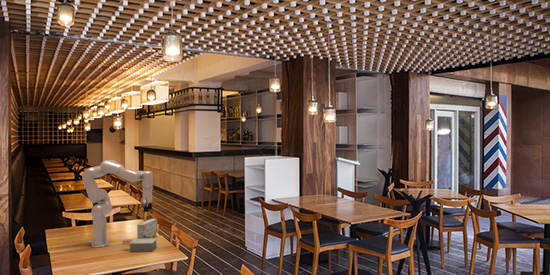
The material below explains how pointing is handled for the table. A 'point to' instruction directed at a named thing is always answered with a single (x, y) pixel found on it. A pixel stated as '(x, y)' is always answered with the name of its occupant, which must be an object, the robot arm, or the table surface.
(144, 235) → the snack box
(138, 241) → the lid
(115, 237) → the table surface
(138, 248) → the tub
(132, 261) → the table surface
